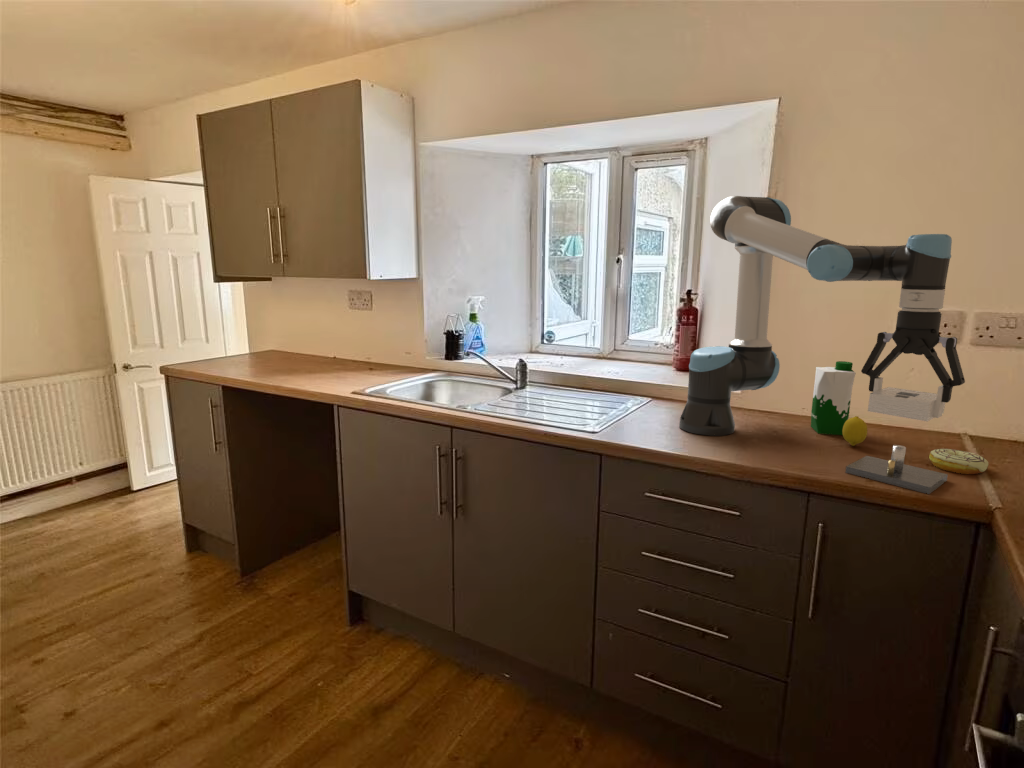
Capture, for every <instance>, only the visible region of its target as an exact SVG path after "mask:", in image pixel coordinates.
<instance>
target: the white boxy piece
mask: <svg viewBox="0 0 1024 768" xmlns="http://www.w3.org/2000/svg"><path fill="white" fill-rule="evenodd" d="M936 398H937V393H935V392H926V391H919V390H912V389H907V388H905V389H904V388H899V387H898V388H897V387H891V386H888V387H885V388H882V389H881V390H878V391H875V392H870V393H869V399H868V406H867V412H869V413H877V414H882V415H888V416H892V417H893V416H894V417H900V418H905V419H910V420H916V421H921V422H922V421H924V422H929V421H931V420H933V419H935V417H934V412H935V406H936ZM945 406H946V402H944V406H943V412H942V415H943V414H945V413H944V412H945Z"/></svg>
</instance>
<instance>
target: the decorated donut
mask: <svg viewBox="0 0 1024 768" xmlns="http://www.w3.org/2000/svg"><path fill="white" fill-rule="evenodd" d="M928 458H929V461H930V462H931V464H932V465H933V466H934V467H935V466H936V467H935V468H937V469H941V470H943V471H945V470H946V472H953V473H955V472H956V474H960V473H961V474H963V475H976V474H978V473H981V474H983V473H984V472H986V470H987V469H988V467H989V461H988V460H987V459H986V458H984V457H983V456H982V455H979V454H977V453H974V452H969V451H964V450H958V449H953V448H952V449H951V448H935V449H933V450H931V451H930V453H929V456H928Z"/></svg>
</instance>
